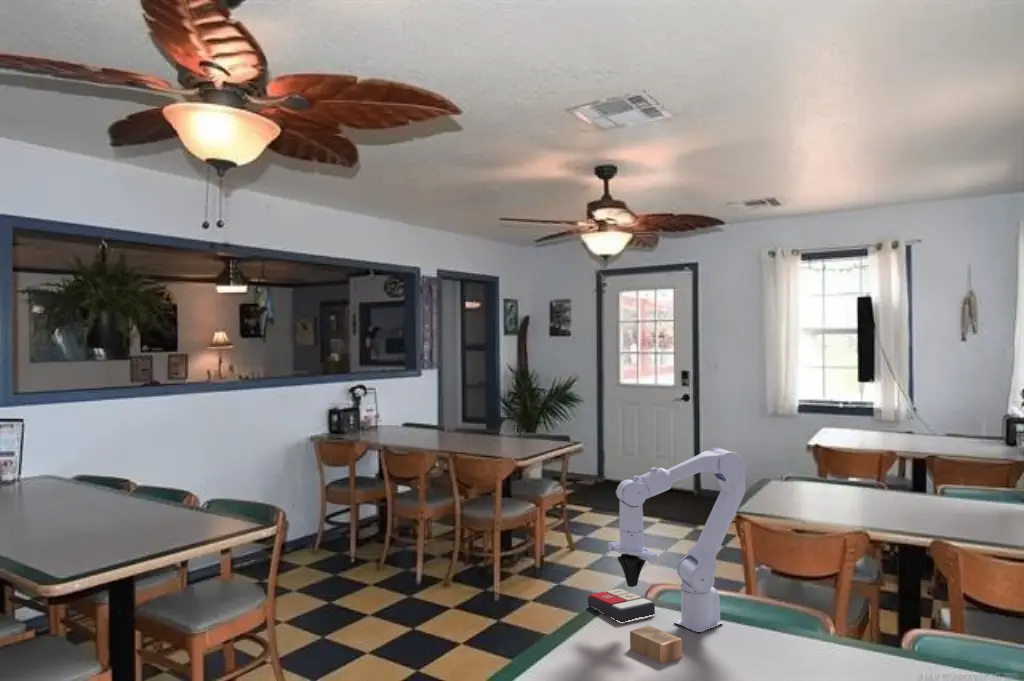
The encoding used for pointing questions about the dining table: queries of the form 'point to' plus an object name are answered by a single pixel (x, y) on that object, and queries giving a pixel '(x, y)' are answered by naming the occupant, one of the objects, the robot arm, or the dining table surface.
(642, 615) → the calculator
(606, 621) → the dining table surface
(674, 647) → the walnut block
